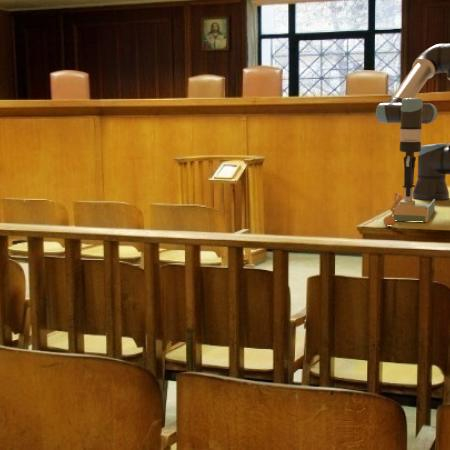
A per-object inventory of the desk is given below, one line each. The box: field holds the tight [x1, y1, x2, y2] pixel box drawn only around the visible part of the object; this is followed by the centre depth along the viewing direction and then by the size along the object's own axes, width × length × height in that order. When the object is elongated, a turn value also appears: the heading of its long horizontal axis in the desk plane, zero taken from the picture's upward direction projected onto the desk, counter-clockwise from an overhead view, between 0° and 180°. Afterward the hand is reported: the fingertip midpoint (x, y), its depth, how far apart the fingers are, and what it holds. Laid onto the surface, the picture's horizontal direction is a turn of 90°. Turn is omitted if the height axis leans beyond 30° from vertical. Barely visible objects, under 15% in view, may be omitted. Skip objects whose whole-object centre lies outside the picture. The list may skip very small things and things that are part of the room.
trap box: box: [392, 198, 436, 223], centre depth 286 cm, size 30×12×6 cm, turn 160°
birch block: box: [399, 199, 416, 205], centre depth 284 cm, size 5×5×3 cm
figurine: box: [383, 191, 403, 226], centre depth 262 cm, size 8×6×12 cm
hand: (408, 204), depth 287 cm, fingers closed
